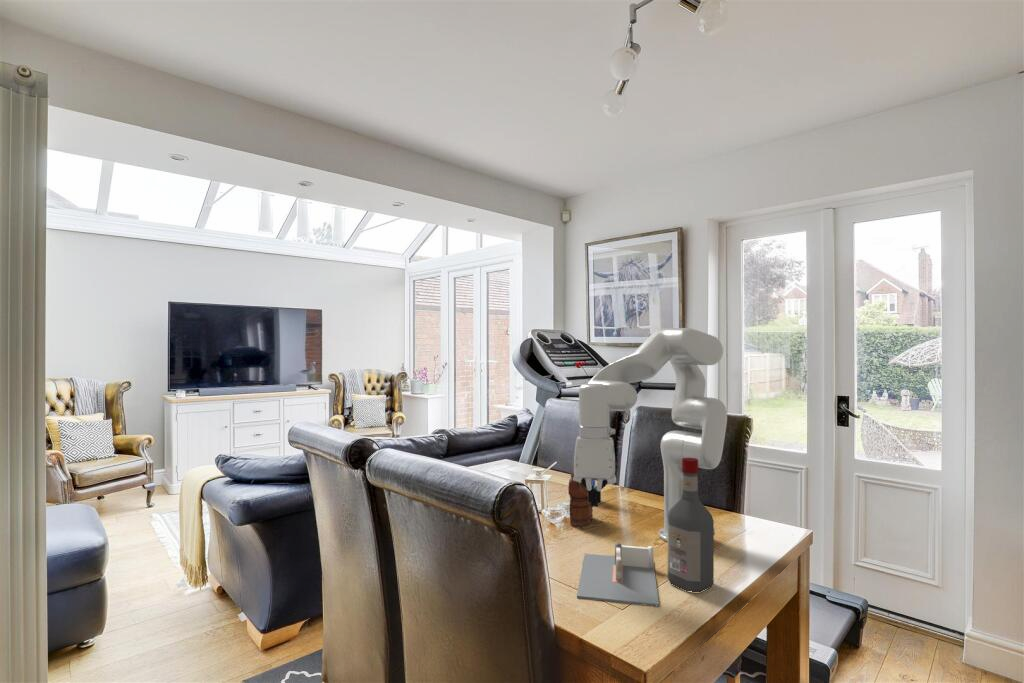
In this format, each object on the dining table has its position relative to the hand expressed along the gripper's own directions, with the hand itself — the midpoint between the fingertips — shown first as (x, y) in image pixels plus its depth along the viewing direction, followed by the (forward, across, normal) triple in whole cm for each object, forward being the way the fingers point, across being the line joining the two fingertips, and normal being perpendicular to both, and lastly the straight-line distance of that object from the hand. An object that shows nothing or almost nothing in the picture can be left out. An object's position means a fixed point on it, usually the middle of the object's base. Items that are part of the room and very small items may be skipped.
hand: (594, 505), depth 130 cm
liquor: (+18, -23, 0) cm, 29 cm away
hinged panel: (+16, -6, 0) cm, 17 cm away
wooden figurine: (+18, +8, -37) cm, 42 cm away
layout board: (+17, -6, +2) cm, 18 cm away
